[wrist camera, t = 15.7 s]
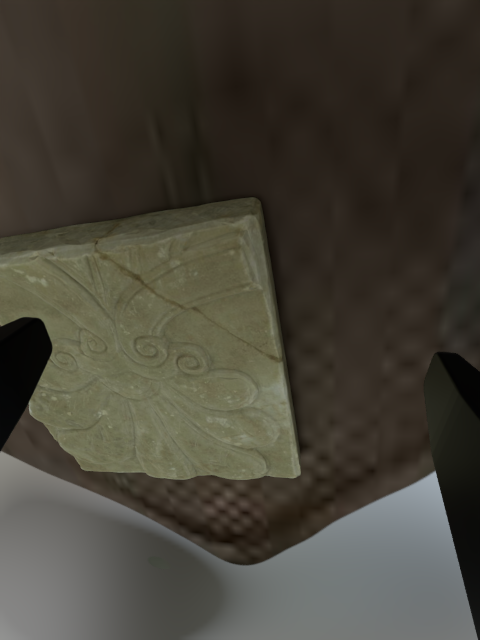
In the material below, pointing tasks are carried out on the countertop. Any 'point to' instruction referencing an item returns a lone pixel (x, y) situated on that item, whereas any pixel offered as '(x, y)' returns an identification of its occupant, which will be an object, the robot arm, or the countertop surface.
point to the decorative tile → (159, 342)
